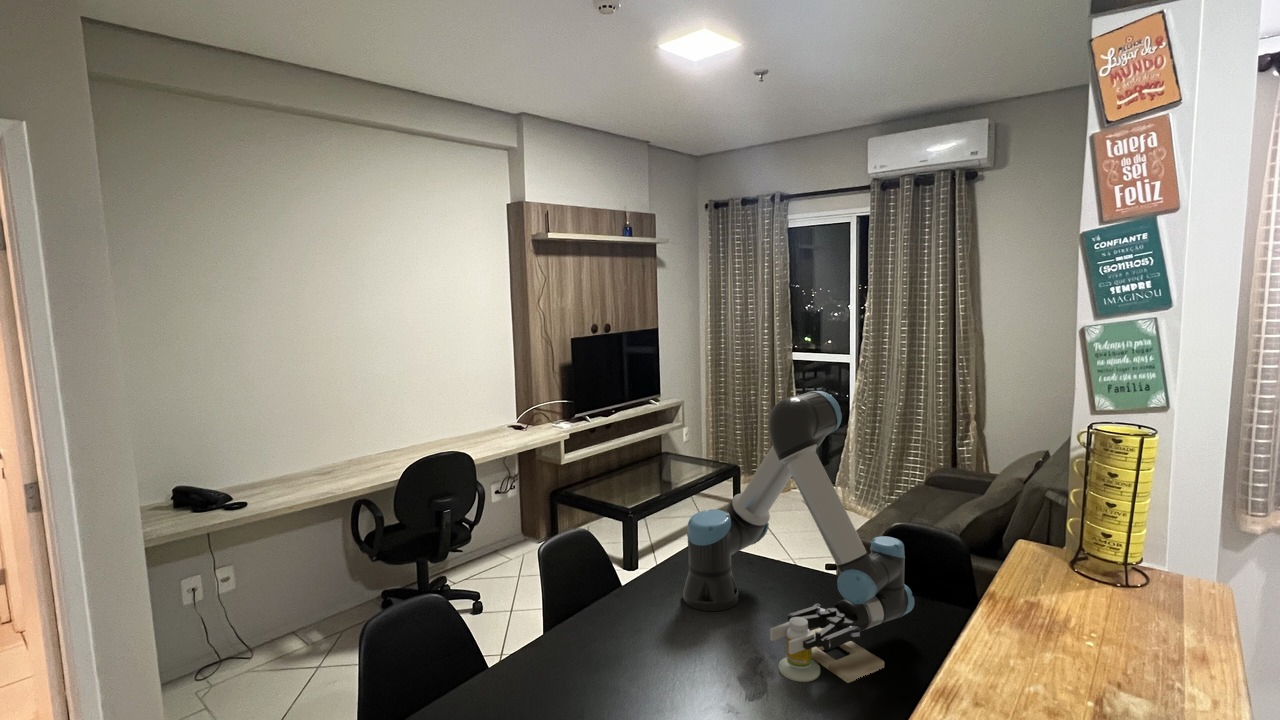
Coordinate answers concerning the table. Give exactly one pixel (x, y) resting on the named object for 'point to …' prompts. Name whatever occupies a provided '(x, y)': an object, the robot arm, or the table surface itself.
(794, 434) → the robot arm
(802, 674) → the pale green oval pebble
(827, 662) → the socket plate
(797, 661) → the supplement bottle
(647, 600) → the table surface
